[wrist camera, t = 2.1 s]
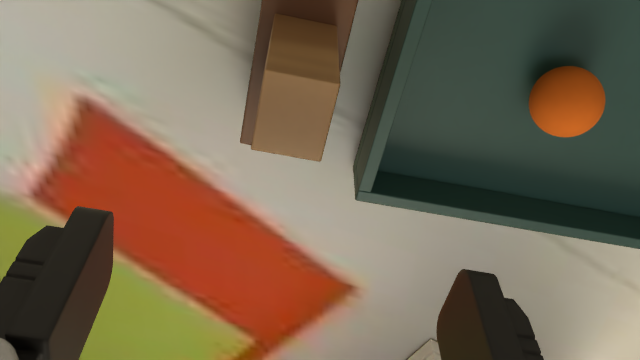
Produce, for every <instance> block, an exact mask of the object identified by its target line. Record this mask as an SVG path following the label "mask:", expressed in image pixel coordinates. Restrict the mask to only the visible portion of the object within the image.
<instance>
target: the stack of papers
mask: <svg viewBox="0 0 640 360" xmlns="http://www.w3.org/2000/svg"><path fill="white" fill-rule="evenodd" d="M408 360H441V356H440V351H439V346H438V342H436V341H434V340H432V339H430V340H429V341H428V342H427V343H426V344H425V345H424V346H422V347H421V348H420V349H419V350H418V351H417V352H416V353H414V354H413V355H412V356H411V357H410V358H409V359H408Z"/></svg>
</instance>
